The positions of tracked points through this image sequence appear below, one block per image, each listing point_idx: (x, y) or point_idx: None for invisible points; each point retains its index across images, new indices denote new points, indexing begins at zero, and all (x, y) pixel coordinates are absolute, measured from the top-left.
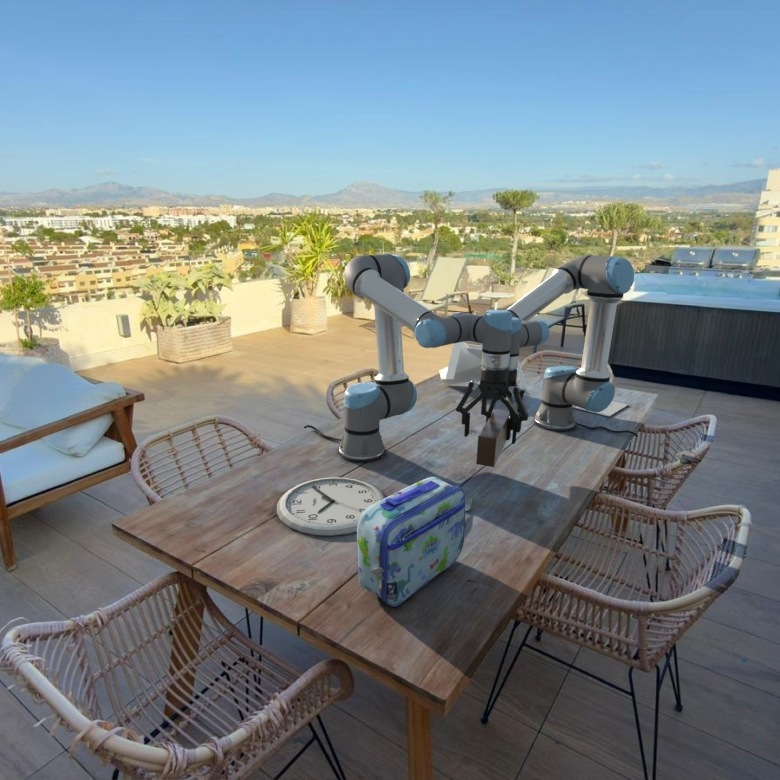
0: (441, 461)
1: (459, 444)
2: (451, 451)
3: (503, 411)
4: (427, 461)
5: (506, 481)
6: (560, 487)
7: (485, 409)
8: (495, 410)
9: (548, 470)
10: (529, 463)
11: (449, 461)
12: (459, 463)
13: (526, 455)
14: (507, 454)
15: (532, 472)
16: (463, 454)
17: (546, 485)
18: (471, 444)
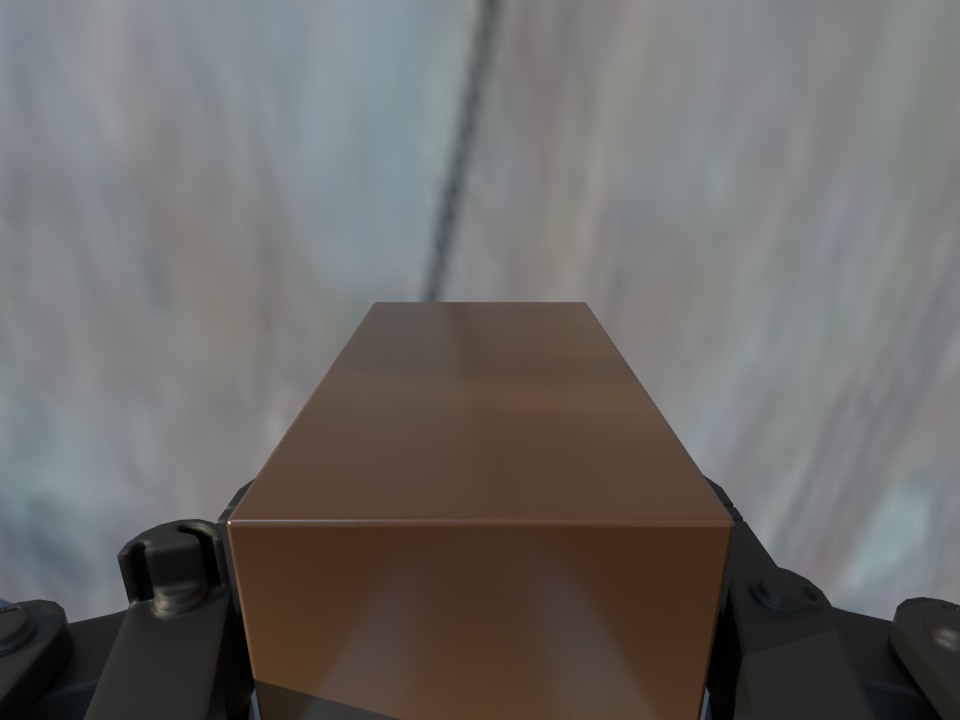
0: (90, 484)
1: (37, 72)
2: (58, 276)
3: (515, 621)
4: (5, 521)
5: None
6: (939, 542)
7: (5, 717)
8: (278, 629)
9: (896, 319)
10: (746, 247)
11: (141, 462)
12: (221, 465)
13: (721, 67)
14: (540, 125)
15: (765, 402)
16: (177, 296)
17: (849, 549)
18: (142, 13)
